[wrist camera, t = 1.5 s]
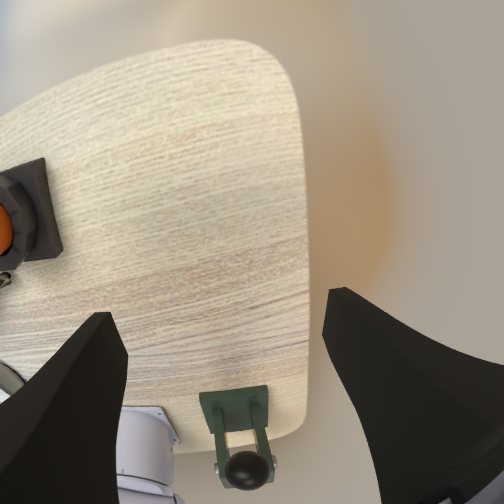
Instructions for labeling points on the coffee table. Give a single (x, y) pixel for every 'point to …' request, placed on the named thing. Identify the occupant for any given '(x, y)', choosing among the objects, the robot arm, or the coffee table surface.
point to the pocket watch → (9, 380)
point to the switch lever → (247, 470)
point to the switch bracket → (237, 422)
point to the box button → (5, 230)
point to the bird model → (5, 279)
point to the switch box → (28, 215)
